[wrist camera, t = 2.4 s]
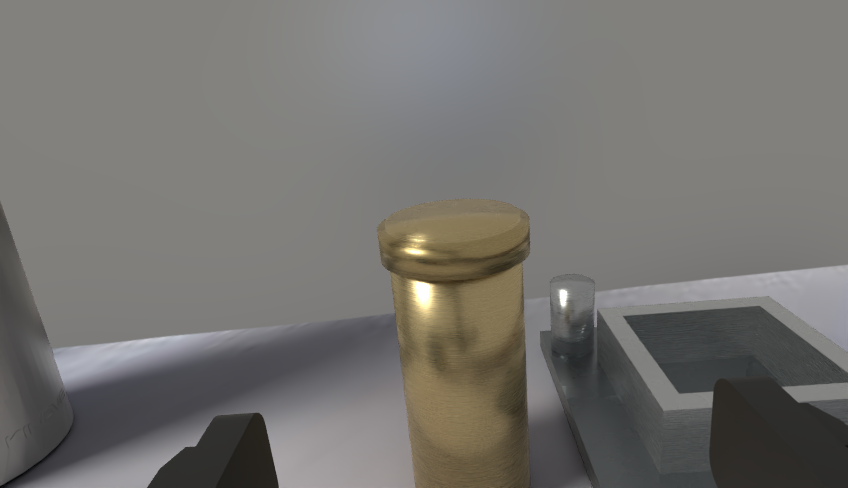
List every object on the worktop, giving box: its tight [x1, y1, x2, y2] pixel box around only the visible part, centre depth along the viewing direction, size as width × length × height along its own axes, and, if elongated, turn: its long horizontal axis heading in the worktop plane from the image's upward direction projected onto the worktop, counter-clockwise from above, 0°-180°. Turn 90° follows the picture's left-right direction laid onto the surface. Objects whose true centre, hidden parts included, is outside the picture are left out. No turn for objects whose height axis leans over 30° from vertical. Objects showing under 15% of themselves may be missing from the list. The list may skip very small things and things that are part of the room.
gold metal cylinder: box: [377, 199, 530, 488], centre depth 22 cm, size 6×6×12 cm
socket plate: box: [540, 274, 848, 488], centre depth 26 cm, size 14×16×5 cm
